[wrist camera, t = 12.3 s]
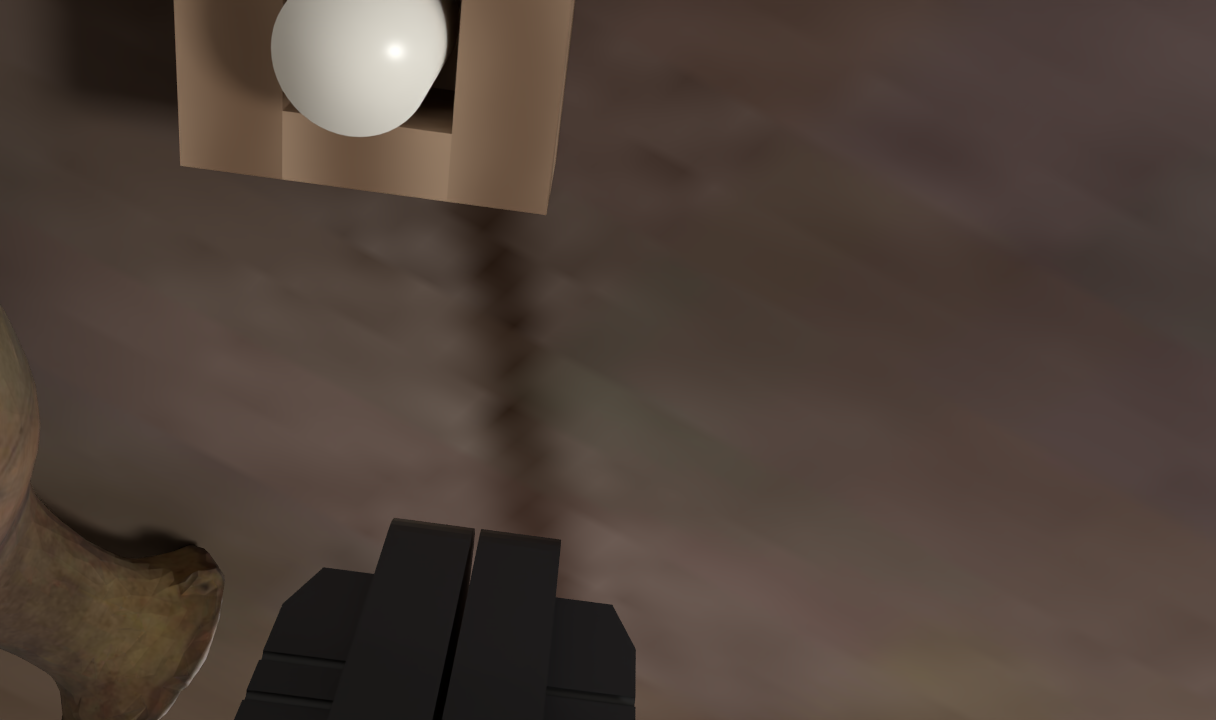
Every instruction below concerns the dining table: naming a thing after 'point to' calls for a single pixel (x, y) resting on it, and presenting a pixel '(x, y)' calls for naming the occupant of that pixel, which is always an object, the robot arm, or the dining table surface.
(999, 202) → the dining table surface
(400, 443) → the dining table surface
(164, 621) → the jug
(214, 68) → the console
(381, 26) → the white egg
